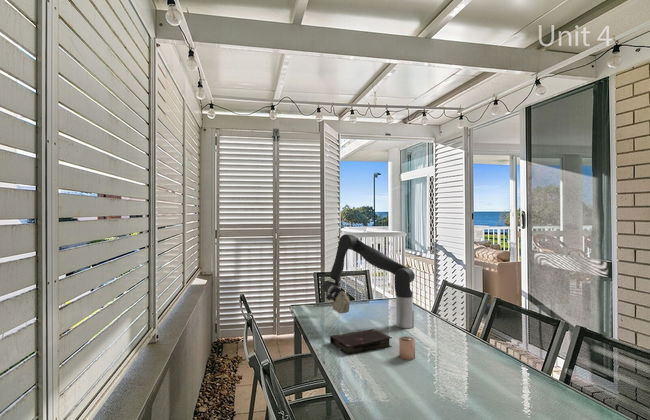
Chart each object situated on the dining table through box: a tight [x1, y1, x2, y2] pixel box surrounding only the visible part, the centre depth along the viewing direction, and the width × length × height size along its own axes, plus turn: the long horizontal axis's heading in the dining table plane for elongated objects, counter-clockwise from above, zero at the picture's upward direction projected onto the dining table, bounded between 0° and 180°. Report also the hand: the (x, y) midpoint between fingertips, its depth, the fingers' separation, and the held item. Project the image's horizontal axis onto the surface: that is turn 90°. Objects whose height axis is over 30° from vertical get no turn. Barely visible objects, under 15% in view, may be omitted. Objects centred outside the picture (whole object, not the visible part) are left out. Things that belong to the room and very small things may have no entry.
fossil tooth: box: [331, 290, 351, 314], centre depth 206 cm, size 12×6×15 cm
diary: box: [329, 328, 393, 356], centre depth 184 cm, size 19×25×5 cm
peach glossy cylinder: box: [398, 335, 416, 361], centre depth 169 cm, size 7×7×8 cm
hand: (340, 299), depth 207 cm, fingers closed on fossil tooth, 5 cm apart
